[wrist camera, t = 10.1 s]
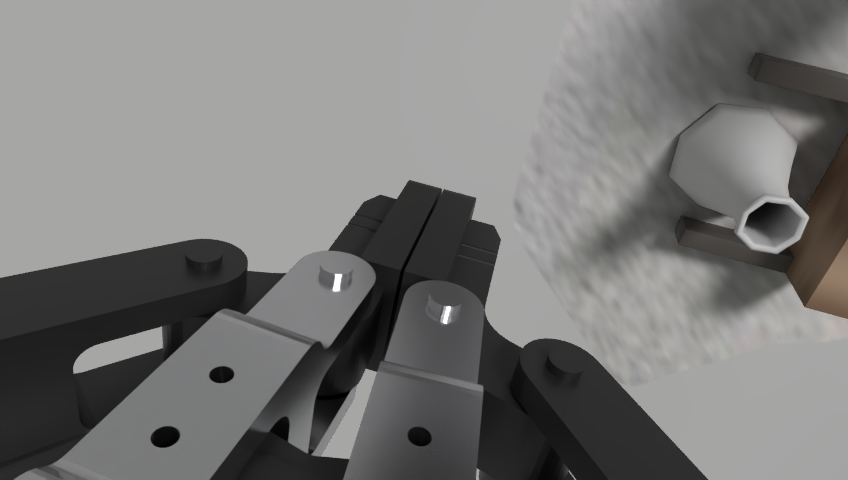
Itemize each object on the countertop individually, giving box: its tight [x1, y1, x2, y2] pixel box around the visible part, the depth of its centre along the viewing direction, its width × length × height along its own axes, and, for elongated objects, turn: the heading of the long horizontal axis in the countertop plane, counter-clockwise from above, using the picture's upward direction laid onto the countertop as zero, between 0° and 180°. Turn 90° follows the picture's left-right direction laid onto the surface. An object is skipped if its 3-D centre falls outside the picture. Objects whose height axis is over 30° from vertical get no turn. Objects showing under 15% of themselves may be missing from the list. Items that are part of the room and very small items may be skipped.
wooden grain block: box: [675, 53, 848, 319], centre depth 36 cm, size 12×10×6 cm
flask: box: [669, 103, 809, 254], centre depth 35 cm, size 7×7×10 cm
